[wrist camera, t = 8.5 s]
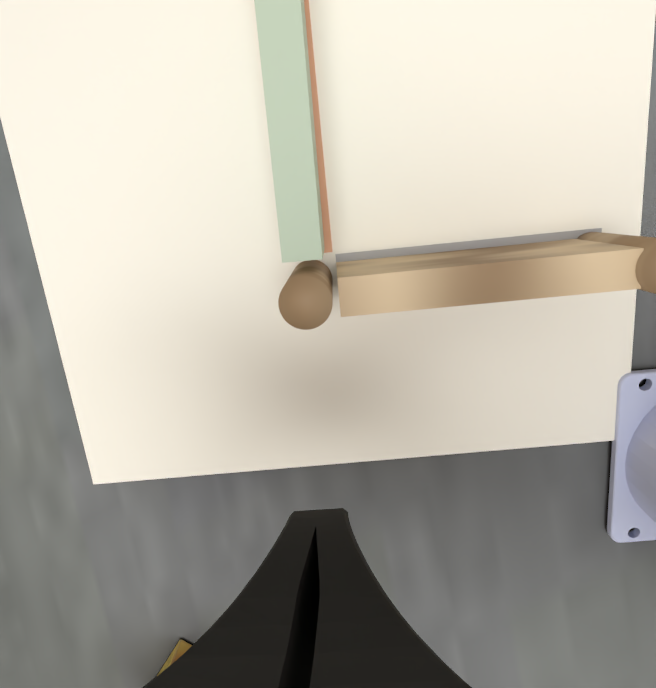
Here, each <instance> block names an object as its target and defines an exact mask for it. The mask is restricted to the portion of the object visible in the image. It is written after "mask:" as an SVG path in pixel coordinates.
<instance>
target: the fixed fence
mask: <svg viewBox="0 0 656 688" xmlns="http://www.w3.org/2000/svg"><path fill="white" fill-rule="evenodd" d="M336 268H337V282H338V292H339V303H340V314H341V317H347V316H358V315H368V314H379V313H390V312H400V311H411V310H421V309H432V308H442V307H453V306H464V305H474V304H485V303H495V302H506V301H516V300H527V299H537V298H548V297H559V296H569V295H580V294H590V293H601V292H611V291H622V290H633V289H640V290H644V291H647V292H651V293H655V294H656V238H653V237H643V236H633V235H622V234H612V233H602V232H587V233H584V234H582V235H580V236H579V237H578V238H577V239H568V240H557V241H547V242H537V243H527V244H517V245H507V246H497V247H486V248H476V249H466V250H456V251H446V252H436V253H426V254H415V255H405V256H395V257H385V258H375V259H365V260H355V261H344V262H336ZM332 305H333V279H332V274H331V271H330V269H329V268H328V267H327V265H325V264H324V263H323V262H321V261H319V260H309V261H303V262H301V263H299V264H298V265H297V266H296V267H295V269H294V270H293V272H292V274H291V275H290V277H289V279H288V280H287V282H286V283H285V285H284V287H283V288H282V290H281V292H280V295H279V299H278V306H279V310H280V313H281V315H282V317H283V318H284V320H285V321H286V322H287V323H288V324H290V325H291V326H293V327H295V328H298V329H302V330H309V329H314V328H317V327H319V326H320V325H322V324H323V323H324V322H325V321H326V320H327V319H328V317H329V316H330V313H331V311H332Z"/></svg>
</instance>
